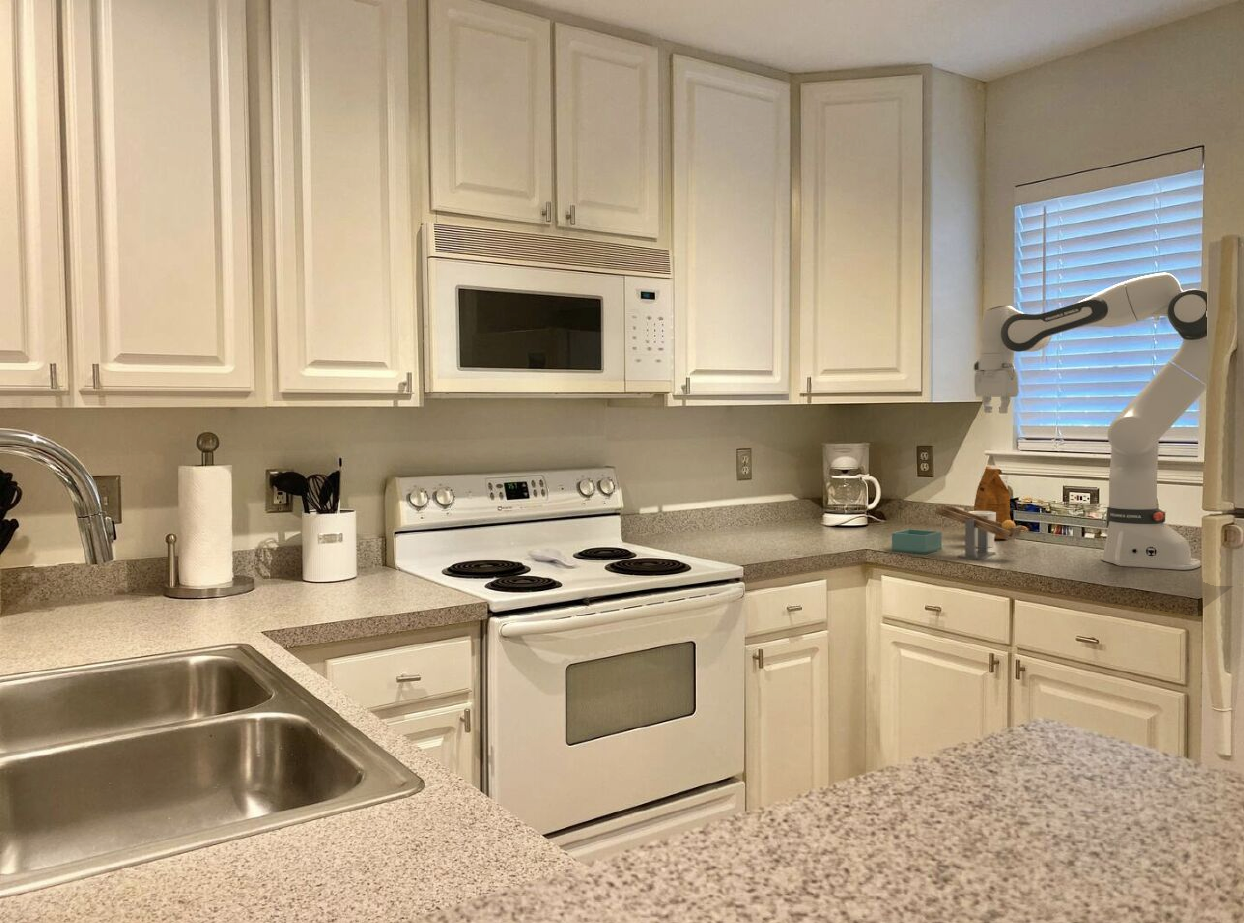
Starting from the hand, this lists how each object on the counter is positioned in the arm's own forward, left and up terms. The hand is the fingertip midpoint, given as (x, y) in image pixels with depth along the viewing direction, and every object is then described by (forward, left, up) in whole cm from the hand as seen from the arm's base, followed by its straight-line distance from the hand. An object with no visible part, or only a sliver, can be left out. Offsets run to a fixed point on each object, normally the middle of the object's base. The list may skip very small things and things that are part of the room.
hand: (995, 413), depth 269 cm
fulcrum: (0, +14, -39) cm, 41 cm away
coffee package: (+10, -21, -39) cm, 46 cm away
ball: (-9, +14, -30) cm, 35 cm away
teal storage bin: (+17, +14, -39) cm, 45 cm away
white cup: (+6, -4, -39) cm, 40 cm away
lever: (0, +11, -31) cm, 32 cm away
